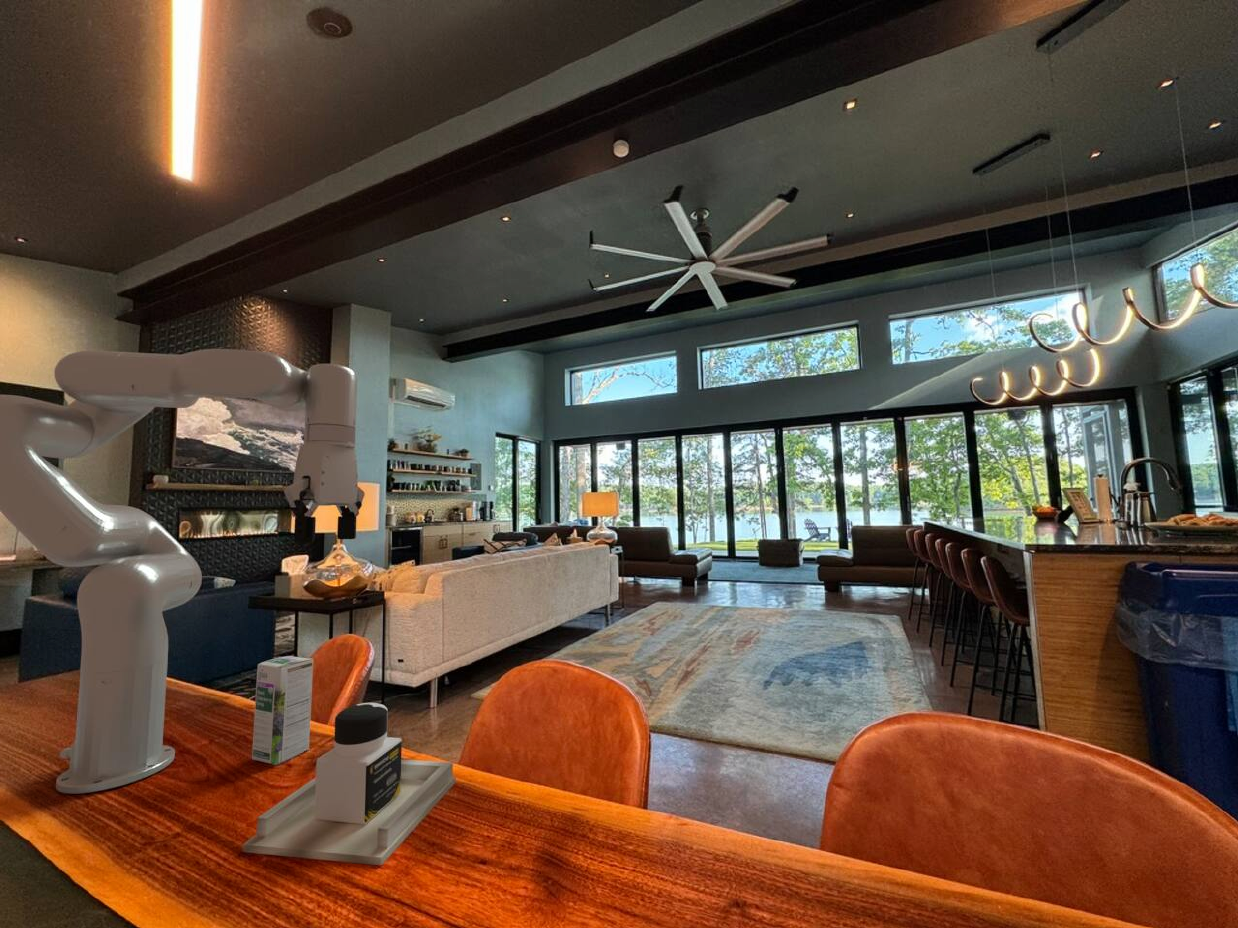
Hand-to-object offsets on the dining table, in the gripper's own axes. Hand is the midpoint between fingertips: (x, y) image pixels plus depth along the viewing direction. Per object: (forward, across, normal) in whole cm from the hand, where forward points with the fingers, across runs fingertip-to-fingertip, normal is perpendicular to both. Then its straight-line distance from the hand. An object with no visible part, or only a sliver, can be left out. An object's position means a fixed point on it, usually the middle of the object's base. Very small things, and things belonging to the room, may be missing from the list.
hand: (326, 540), depth 85 cm
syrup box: (+34, +2, -5) cm, 34 cm away
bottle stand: (+33, +15, +18) cm, 41 cm away
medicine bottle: (+33, +15, +18) cm, 40 cm away
